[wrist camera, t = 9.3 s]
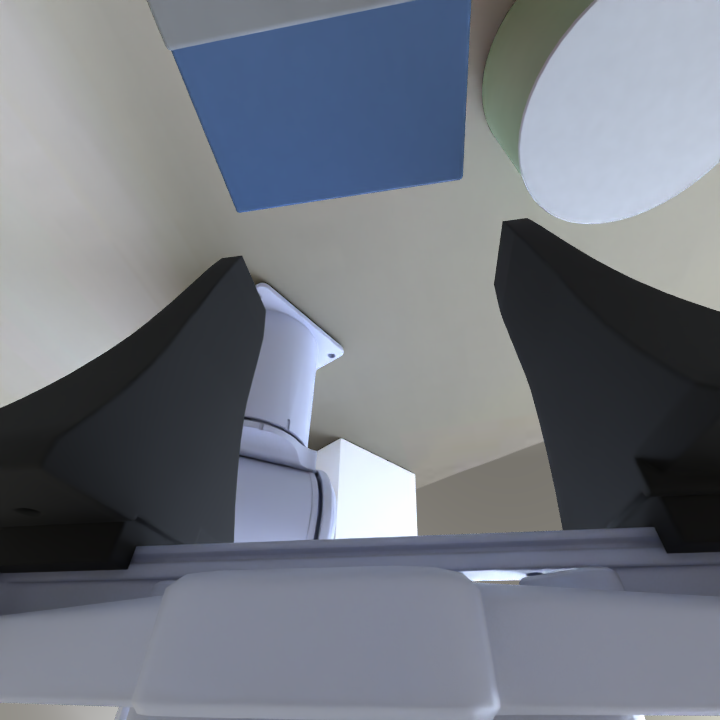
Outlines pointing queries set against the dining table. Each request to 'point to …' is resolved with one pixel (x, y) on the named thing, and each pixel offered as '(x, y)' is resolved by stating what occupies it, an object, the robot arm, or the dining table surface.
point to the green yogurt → (606, 101)
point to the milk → (368, 493)
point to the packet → (324, 92)
